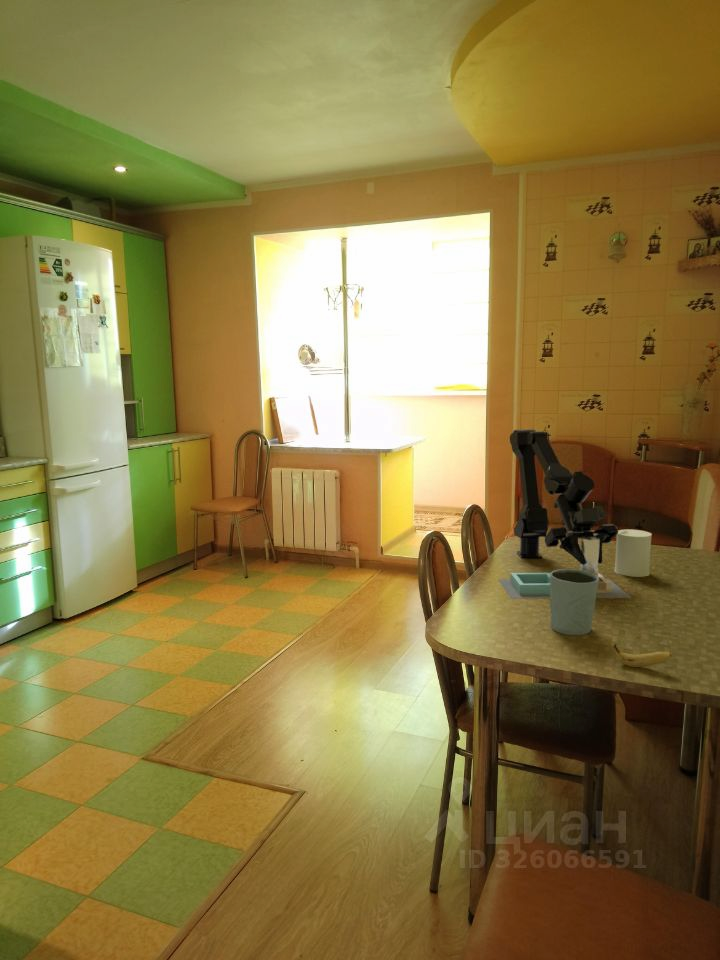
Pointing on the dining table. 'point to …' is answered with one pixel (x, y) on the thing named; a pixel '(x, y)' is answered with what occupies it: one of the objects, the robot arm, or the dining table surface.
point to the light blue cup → (572, 601)
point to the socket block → (603, 585)
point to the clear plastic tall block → (590, 554)
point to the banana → (642, 658)
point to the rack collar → (531, 583)
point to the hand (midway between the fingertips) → (592, 563)
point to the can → (633, 553)
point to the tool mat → (513, 593)
